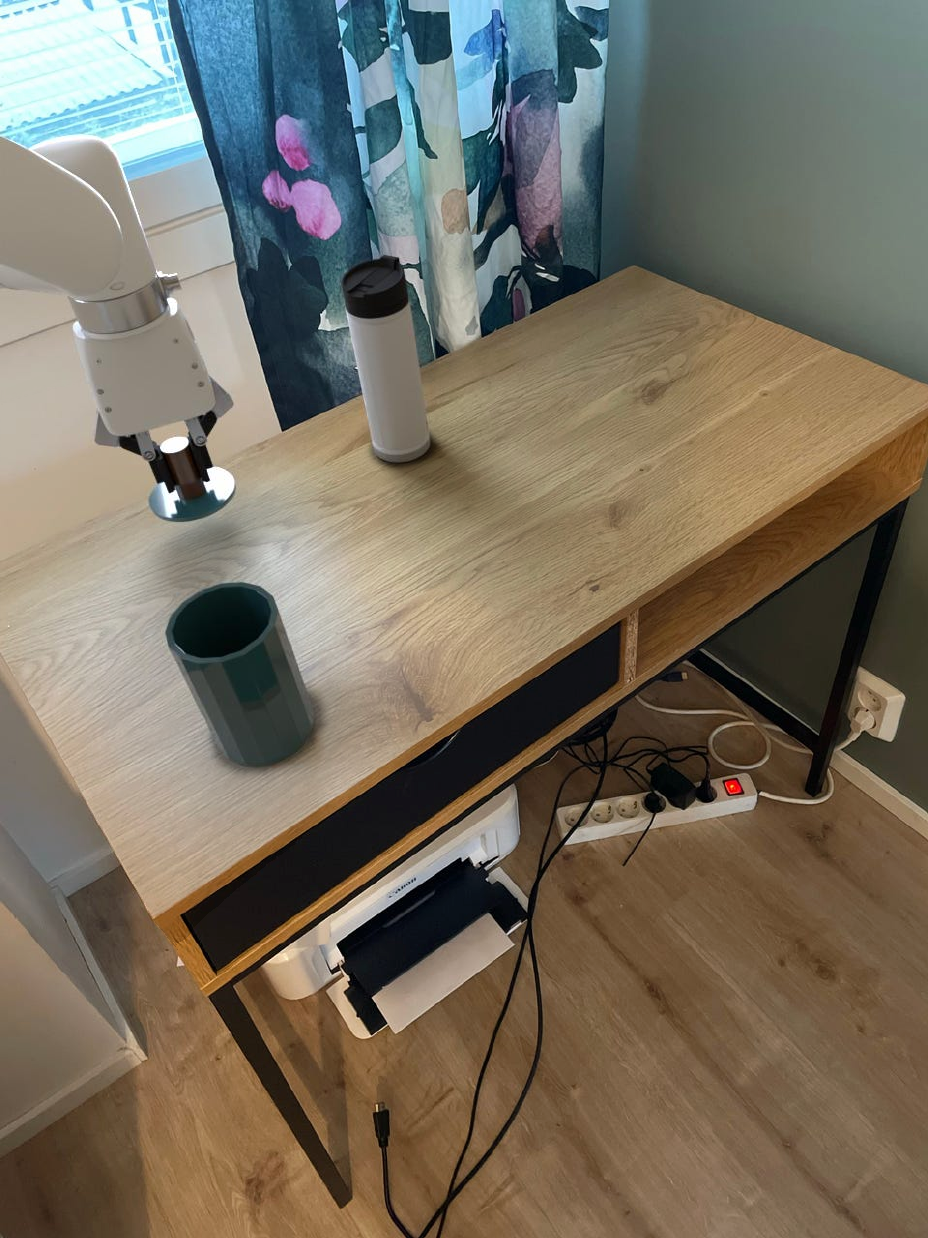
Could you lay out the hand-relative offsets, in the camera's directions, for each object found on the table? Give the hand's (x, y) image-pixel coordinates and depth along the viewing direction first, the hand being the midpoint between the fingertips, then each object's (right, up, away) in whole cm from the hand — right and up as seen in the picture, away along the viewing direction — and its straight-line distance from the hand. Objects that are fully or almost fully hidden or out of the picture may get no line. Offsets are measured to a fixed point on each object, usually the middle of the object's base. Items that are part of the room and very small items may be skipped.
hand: (187, 478), depth 88 cm
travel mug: (+21, +5, +11) cm, 24 cm away
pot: (+11, -23, -15) cm, 29 cm away
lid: (0, -1, +1) cm, 2 cm away
